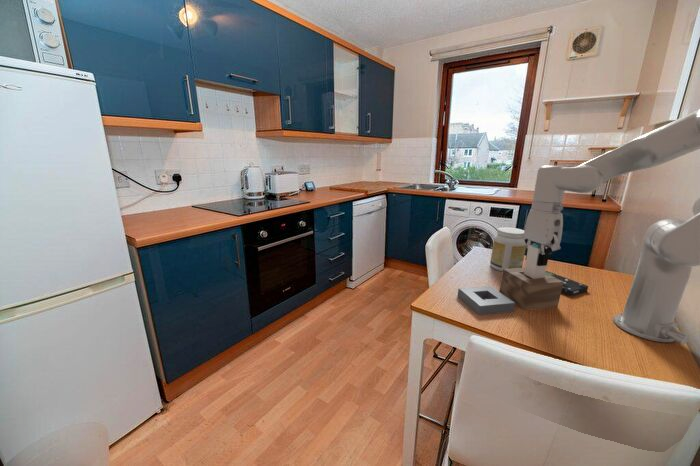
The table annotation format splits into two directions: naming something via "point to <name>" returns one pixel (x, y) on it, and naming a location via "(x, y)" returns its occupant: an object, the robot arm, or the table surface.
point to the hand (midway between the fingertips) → (535, 262)
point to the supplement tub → (508, 249)
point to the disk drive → (570, 285)
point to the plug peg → (534, 262)
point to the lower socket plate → (492, 303)
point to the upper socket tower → (530, 289)
